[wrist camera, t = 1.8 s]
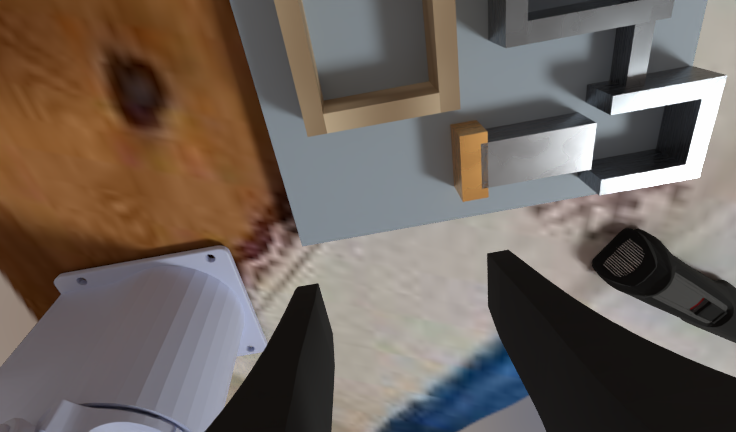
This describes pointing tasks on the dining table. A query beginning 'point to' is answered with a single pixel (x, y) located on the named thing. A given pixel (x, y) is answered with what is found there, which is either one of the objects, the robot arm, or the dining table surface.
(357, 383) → the dining table surface
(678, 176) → the socket
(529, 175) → the key
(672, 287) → the electric trimmer
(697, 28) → the board
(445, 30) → the brown piece
